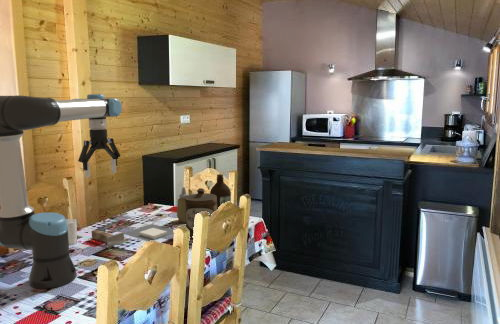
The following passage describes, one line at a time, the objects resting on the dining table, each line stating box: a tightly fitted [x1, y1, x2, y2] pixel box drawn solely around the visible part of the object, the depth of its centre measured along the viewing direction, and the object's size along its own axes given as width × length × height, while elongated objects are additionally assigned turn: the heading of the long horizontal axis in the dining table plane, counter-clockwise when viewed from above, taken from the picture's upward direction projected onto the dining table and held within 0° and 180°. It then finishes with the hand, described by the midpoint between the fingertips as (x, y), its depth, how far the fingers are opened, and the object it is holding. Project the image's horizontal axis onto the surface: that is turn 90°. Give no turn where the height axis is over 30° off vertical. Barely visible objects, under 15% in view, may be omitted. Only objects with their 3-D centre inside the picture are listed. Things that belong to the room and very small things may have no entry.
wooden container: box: [185, 188, 217, 239], centre depth 195 cm, size 15×15×22 cm
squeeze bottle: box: [176, 186, 190, 224], centre depth 216 cm, size 8×8×18 cm
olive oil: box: [209, 173, 232, 209], centre depth 213 cm, size 11×11×25 cm
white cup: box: [66, 218, 78, 246], centre depth 186 cm, size 8×8×10 cm
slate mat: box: [123, 223, 174, 242], centre depth 199 cm, size 18×20×1 cm
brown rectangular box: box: [91, 229, 125, 249], centre depth 187 cm, size 17×8×5 cm, turn 53°
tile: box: [139, 228, 167, 240], centre depth 195 cm, size 8×2×10 cm
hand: (101, 175), depth 193 cm, fingers open, 13 cm apart
